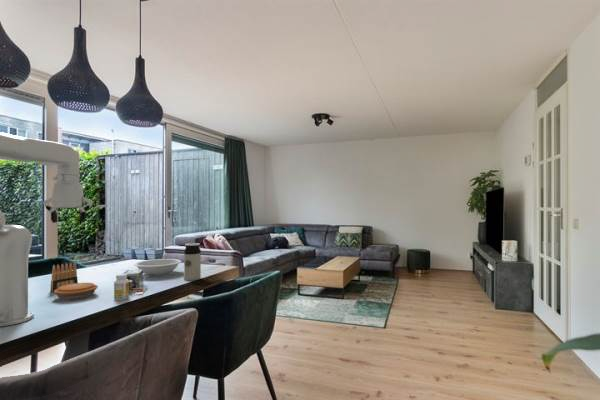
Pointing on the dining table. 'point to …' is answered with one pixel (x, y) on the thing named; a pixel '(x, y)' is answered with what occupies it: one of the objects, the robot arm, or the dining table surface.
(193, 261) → the travel mug
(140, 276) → the gauge housing
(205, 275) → the dining table surface
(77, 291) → the pie
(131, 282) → the plunger
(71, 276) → the ammunition clip
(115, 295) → the supplement bottle
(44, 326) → the dining table surface
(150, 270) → the soup bowl
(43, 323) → the dining table surface
